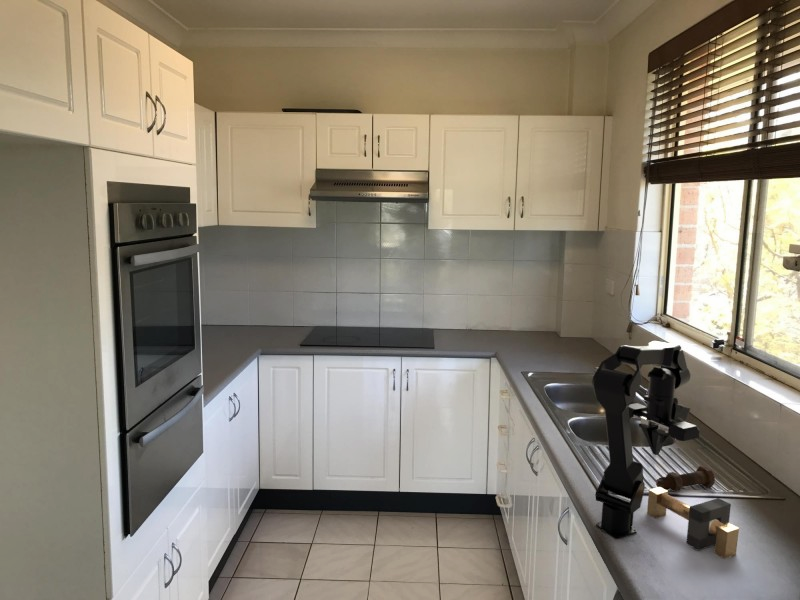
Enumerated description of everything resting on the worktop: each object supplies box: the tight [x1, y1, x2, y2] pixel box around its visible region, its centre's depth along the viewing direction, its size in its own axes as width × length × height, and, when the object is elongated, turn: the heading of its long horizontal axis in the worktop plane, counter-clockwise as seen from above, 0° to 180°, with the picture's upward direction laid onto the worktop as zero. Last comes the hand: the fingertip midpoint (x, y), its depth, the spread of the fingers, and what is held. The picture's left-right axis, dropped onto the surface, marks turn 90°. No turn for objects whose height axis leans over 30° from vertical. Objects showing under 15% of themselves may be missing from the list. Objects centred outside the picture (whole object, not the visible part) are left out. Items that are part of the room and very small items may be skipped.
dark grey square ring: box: [685, 497, 732, 551], centre depth 132 cm, size 3×9×9 cm, turn 116°
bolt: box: [655, 465, 716, 492], centre depth 158 cm, size 6×5×15 cm
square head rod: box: [646, 487, 740, 560], centre depth 136 cm, size 20×4×6 cm, turn 26°
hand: (655, 454), depth 149 cm, fingers closed
